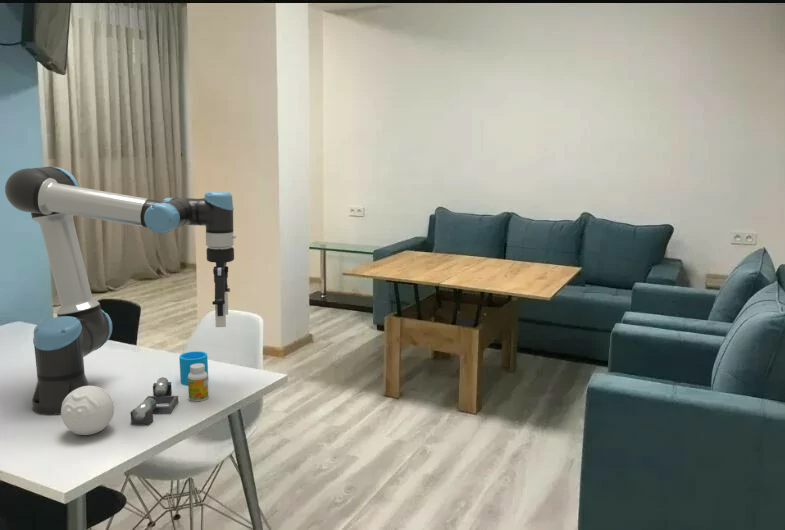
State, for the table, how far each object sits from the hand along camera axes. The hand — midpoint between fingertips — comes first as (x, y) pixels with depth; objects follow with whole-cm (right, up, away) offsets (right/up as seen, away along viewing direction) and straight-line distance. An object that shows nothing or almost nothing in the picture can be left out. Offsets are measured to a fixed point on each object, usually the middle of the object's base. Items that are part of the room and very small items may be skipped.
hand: (222, 320), depth 193 cm
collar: (-15, -23, -9) cm, 29 cm away
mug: (-12, -19, +14) cm, 27 cm away
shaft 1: (-16, -25, -17) cm, 34 cm away
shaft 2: (-17, -22, -2) cm, 27 cm away
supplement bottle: (-6, -22, -2) cm, 23 cm away
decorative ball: (-27, -26, -25) cm, 45 cm away
